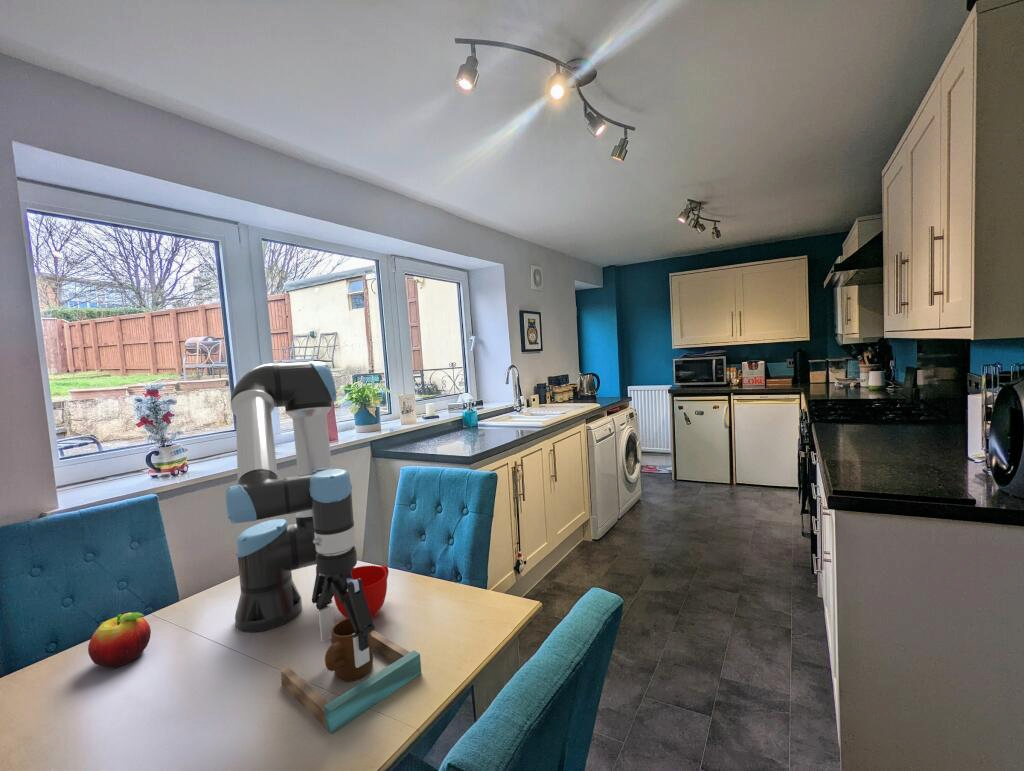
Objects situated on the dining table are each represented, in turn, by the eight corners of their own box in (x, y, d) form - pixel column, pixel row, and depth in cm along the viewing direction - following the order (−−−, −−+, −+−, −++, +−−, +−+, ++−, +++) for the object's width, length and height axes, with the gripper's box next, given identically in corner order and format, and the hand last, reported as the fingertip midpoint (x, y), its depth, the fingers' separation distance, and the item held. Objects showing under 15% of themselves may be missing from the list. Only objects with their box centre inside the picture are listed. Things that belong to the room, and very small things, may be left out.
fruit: (114, 647, 110) (110, 606, 109) (164, 642, 111) (159, 601, 110) (76, 678, 99) (71, 632, 98) (131, 672, 100) (126, 627, 99)
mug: (348, 701, 87) (343, 652, 87) (312, 696, 89) (308, 649, 88) (380, 660, 99) (376, 616, 98) (348, 656, 101) (344, 614, 100)
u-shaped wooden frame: (281, 684, 93) (280, 665, 93) (366, 638, 107) (365, 621, 107) (331, 733, 80) (329, 711, 79) (421, 672, 94) (419, 653, 94)
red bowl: (409, 598, 124) (406, 562, 123) (366, 635, 108) (363, 593, 108) (369, 592, 129) (366, 556, 128) (323, 626, 113) (320, 586, 113)
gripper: (289, 540, 99) (298, 636, 100) (351, 573, 82) (360, 687, 84) (323, 529, 104) (331, 620, 106) (388, 557, 88) (396, 665, 89)
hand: (344, 650), depth 95 cm, fingers open, 13 cm apart
